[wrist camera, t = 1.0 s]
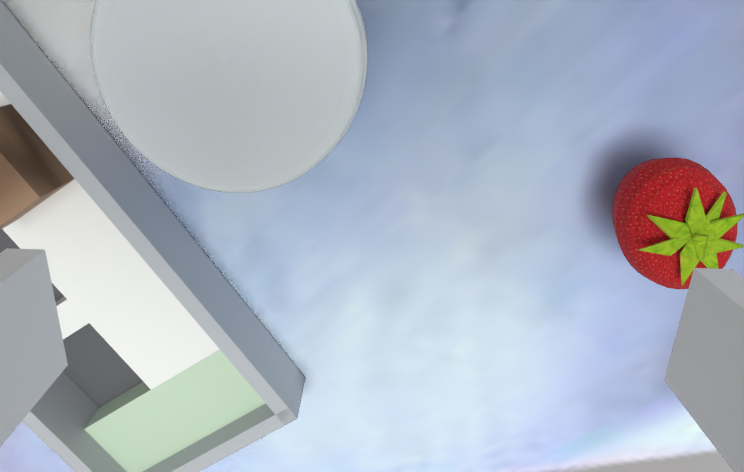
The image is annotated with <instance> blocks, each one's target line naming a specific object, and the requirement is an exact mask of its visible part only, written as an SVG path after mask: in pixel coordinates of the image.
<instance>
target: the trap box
mask: <svg viewBox="0 0 744 472" xmlns="http://www.w3.org/2000/svg"><path fill="white" fill-rule="evenodd" d="M9 104H12V106H13V107H14V108H15V109H16V110H17V111H18V113H19V114H20V115H21V116H22V117H23V119H24V120H25V121H26V122H27V123H28V124H29V126H30V127H31V128H32V129H33V130H34V131H35V133H36V134H37V135H38V136H39V137H40V138H41V140H42V141H43V142H44V143H45V144H46V146H47V147H48V148H49V149H50V150H51V151H52V153H53V154H54V155H55V156H56V157H57V158H58V160H59V161H60V162H61V163H62V164H63V166H64V167H65V168H66V169H67V170H68V171H69V173H70V174H71V175H72V176H73V177H74V178H75V179H74V180H73V181H71V182H70V183H68V184H67V185H66V186H64V187H63V188H61V189H60V190H58V191H57V192H56V193H54V194H53V195H51V196H50V197H49V198H47V199H46V200H44V201H43V202H42V203H40V204H39V205H37V206H36V207H34V208H33V209H32V210H30V211H29V212H27V213H26V214H25V215H23V216H22V217H20V218H19V219H17V220H16V221H15V222H13V223H11V224H9V225H8V226H6V227H4V228H2V229H1V230H0V253H1V252H2V251H3V250H5V249H6V248H11V249H45V252H46V257H47V262H48V267H49V272H50V277H51V282H52V287H53V292H54V297H55V302H56V307H57V313H58V318H59V323H60V328H61V333H62V338H63V343H64V348H65V353H66V358H67V363H68V366H67V367H66V368H65V369H64V370H63V372H62V373H61V374H60V375H59V376H58V378H57V379H56V380H55V381H54V382H53V384H52V385H51V386H50V387H49V389H48V390H47V391H46V392H45V393H44V395H43V396H42V397H41V398H40V399H39V401H38V402H37V403H36V404H35V405H34V407H33V408H32V409H31V410H30V411H29V413H28V414H27V415H26V416H25V418H24V419H23V420H22V422H23V423H24V424H25V425H27V426H28V427H29V428H30V429H31V430H32V431H33V432H34V433H35V434H36V435H37V436H38V437H39V438H40V439H41V440H42V441H43V442H44V443H45V444H46V445H47V446H48V447H49V448H51V449H52V450H53V451H54V452H55V453H56V454H57V455H58V456H59V457H60V458H61V459H62V460H63V461H64V462H65V463H66V464H67V465H68V466H69V467H70V468H71V469H72V470H74V471H75V472H200V471H201V470H203V469H205V468H207V467H209V466H211V465H213V464H214V463H216V462H218V461H220V460H222V459H224V458H225V457H227V456H229V455H231V454H233V453H235V452H237V451H238V450H240V449H242V448H244V447H246V446H248V445H249V444H251V443H253V442H255V441H257V440H259V439H261V438H262V437H264V436H266V435H268V434H270V433H272V432H273V431H275V430H277V429H279V428H281V427H283V426H285V425H286V424H288V423H290V422H292V421H294V420H296V419H297V418H298V413H299V407H300V402H301V397H302V392H303V386H304V381H305V376H304V375H303V374H302V373H301V371H300V370H299V369H298V368H297V366H296V365H295V364H294V363H293V361H292V360H291V359H290V358H289V357H288V355H287V354H286V353H285V352H284V350H283V349H282V348H281V347H280V345H279V344H278V343H277V342H276V340H275V339H274V338H273V337H272V335H271V334H270V333H269V332H268V330H267V329H266V328H265V327H264V326H263V324H262V323H261V322H260V321H259V319H258V318H257V317H256V316H255V314H254V313H253V312H252V311H251V309H250V308H249V307H248V306H247V304H246V303H245V302H244V301H243V299H242V298H241V297H240V296H239V295H238V293H237V292H236V291H235V290H234V288H233V287H232V286H231V285H230V283H229V282H228V281H227V280H226V278H225V277H224V276H223V275H222V273H221V272H220V271H219V270H218V268H217V267H216V266H215V265H214V264H213V262H212V261H211V260H210V259H209V257H208V256H207V255H206V254H205V252H204V251H203V250H202V249H201V247H200V246H199V245H198V244H197V242H196V241H195V240H194V239H193V237H192V236H191V235H190V234H189V233H188V231H187V230H186V229H185V228H184V226H183V225H182V224H181V223H180V221H179V220H178V219H177V218H176V216H175V215H174V214H173V213H172V211H171V210H170V209H169V208H168V206H167V205H166V204H165V203H164V202H163V200H162V199H161V198H160V197H159V195H158V194H157V193H156V192H155V190H154V189H153V188H152V187H151V185H150V184H149V183H148V182H147V180H146V179H145V178H144V177H143V175H142V174H141V173H140V172H139V171H138V169H137V168H136V167H135V166H134V164H133V163H132V162H131V161H130V159H129V158H128V157H127V156H126V154H125V153H124V152H123V151H122V149H121V148H120V147H119V146H118V144H117V143H116V142H115V141H114V140H113V138H112V137H111V136H110V135H109V133H108V132H107V131H106V130H105V128H104V127H103V126H102V125H101V123H100V122H99V121H98V120H97V118H96V117H95V116H94V115H93V113H92V112H91V111H90V110H89V109H88V107H87V106H86V105H85V104H84V102H83V101H82V100H81V99H80V97H79V96H78V95H77V94H76V92H75V91H74V90H73V89H72V87H71V86H70V85H69V84H68V82H67V81H66V80H65V79H64V78H63V76H62V75H61V74H60V73H59V71H58V70H57V69H56V68H55V66H54V65H53V64H52V63H51V61H50V60H49V59H48V58H47V56H46V55H45V54H44V53H43V51H42V50H41V49H40V48H39V47H38V45H37V44H36V43H35V42H34V40H33V39H32V38H31V37H30V35H29V34H28V33H27V32H26V30H25V29H24V28H23V27H22V25H21V24H20V23H19V22H18V20H17V19H16V18H15V17H14V16H13V14H12V13H11V12H10V11H9V9H8V8H7V7H6V6H5V4H4V3H3V2H2V1H1V0H0V107H1V106H5V105H9Z"/></svg>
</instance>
